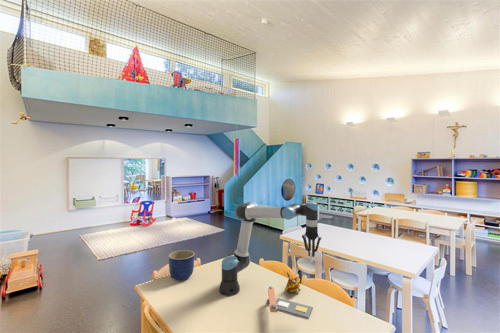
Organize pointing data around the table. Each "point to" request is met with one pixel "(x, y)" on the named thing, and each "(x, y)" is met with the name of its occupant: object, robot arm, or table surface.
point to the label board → (294, 308)
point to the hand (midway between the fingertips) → (311, 261)
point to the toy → (293, 284)
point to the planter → (181, 264)
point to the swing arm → (272, 299)
